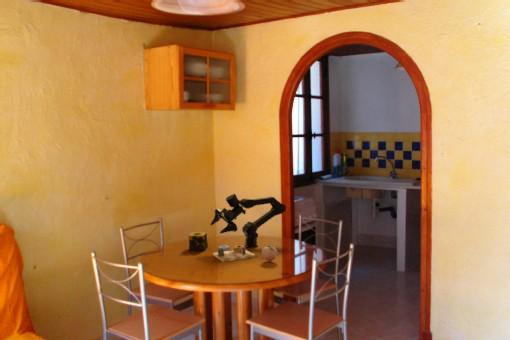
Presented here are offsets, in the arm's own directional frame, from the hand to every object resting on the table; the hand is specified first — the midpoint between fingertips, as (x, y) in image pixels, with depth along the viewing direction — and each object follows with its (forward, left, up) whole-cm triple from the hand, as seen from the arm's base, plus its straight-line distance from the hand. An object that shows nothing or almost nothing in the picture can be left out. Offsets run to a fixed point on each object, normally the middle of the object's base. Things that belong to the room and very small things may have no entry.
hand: (215, 228), depth 300 cm
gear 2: (-10, +12, -13) cm, 20 cm away
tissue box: (+8, -12, -15) cm, 20 cm away
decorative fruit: (-18, +36, -14) cm, 43 cm away
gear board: (-5, +15, -14) cm, 22 cm away
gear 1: (-4, +2, -14) cm, 15 cm away
